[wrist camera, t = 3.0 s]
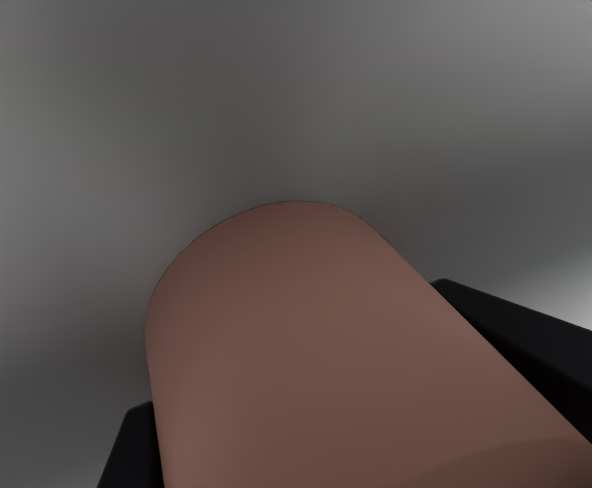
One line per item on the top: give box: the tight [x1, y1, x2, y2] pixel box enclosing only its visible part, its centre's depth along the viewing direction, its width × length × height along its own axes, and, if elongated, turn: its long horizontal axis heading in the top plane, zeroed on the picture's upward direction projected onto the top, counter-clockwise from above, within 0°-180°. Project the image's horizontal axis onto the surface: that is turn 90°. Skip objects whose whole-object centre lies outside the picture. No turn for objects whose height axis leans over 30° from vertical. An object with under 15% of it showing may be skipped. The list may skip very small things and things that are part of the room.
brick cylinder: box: [144, 201, 592, 488], centre depth 7 cm, size 5×5×5 cm
